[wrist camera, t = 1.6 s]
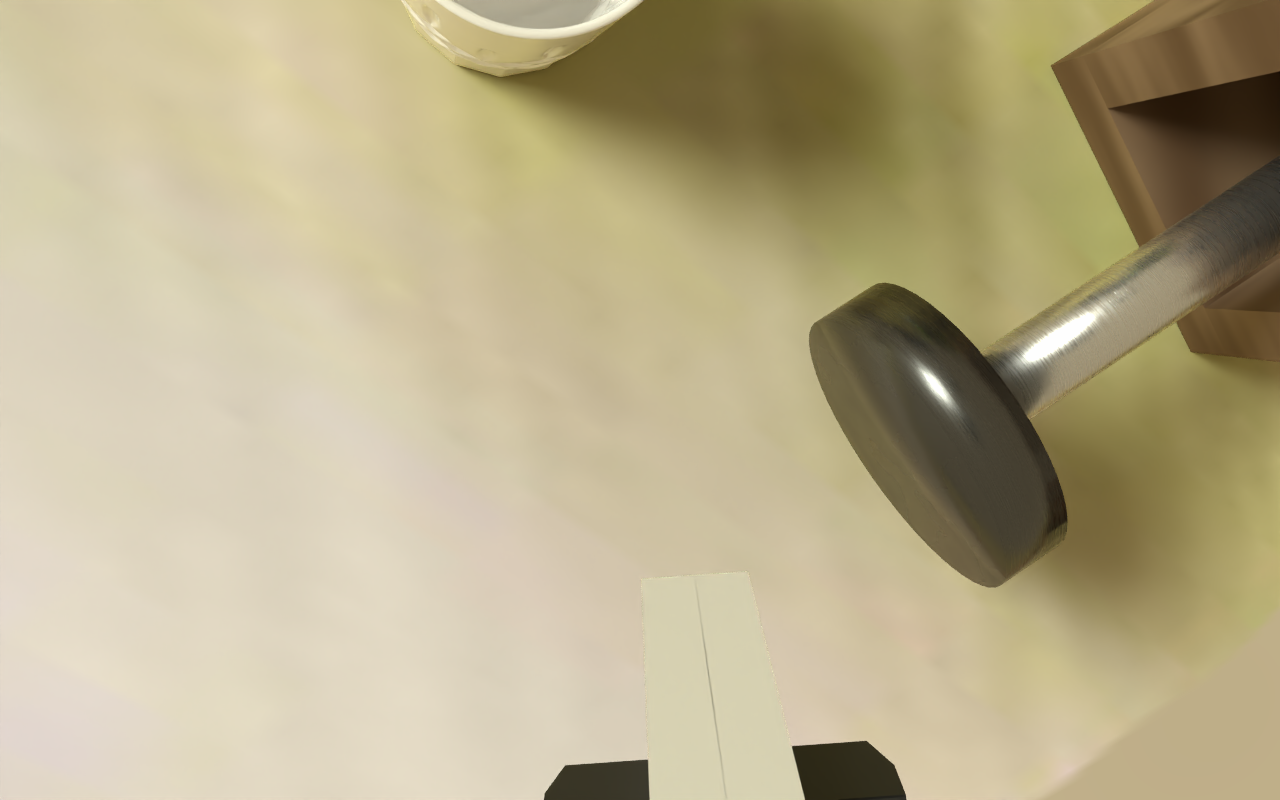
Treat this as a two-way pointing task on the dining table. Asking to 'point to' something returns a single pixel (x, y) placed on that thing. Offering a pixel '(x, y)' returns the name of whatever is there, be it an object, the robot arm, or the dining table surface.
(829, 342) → the plunger
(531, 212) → the dining table surface
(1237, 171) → the brown wooden open box
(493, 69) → the white cup
